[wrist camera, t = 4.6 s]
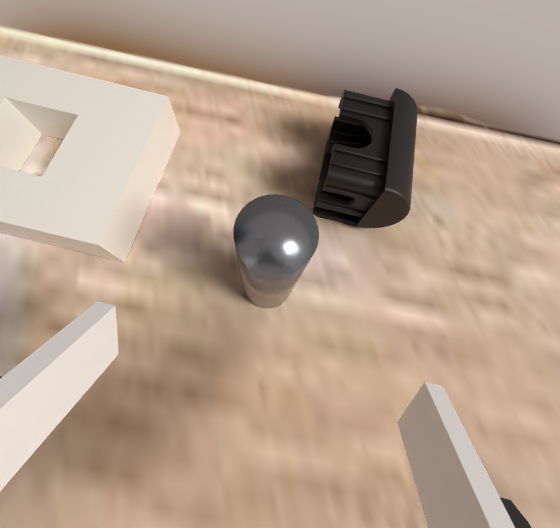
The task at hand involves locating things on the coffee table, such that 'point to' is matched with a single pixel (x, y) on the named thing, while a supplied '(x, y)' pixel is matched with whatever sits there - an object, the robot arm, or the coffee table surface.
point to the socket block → (80, 157)
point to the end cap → (369, 161)
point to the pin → (273, 247)
